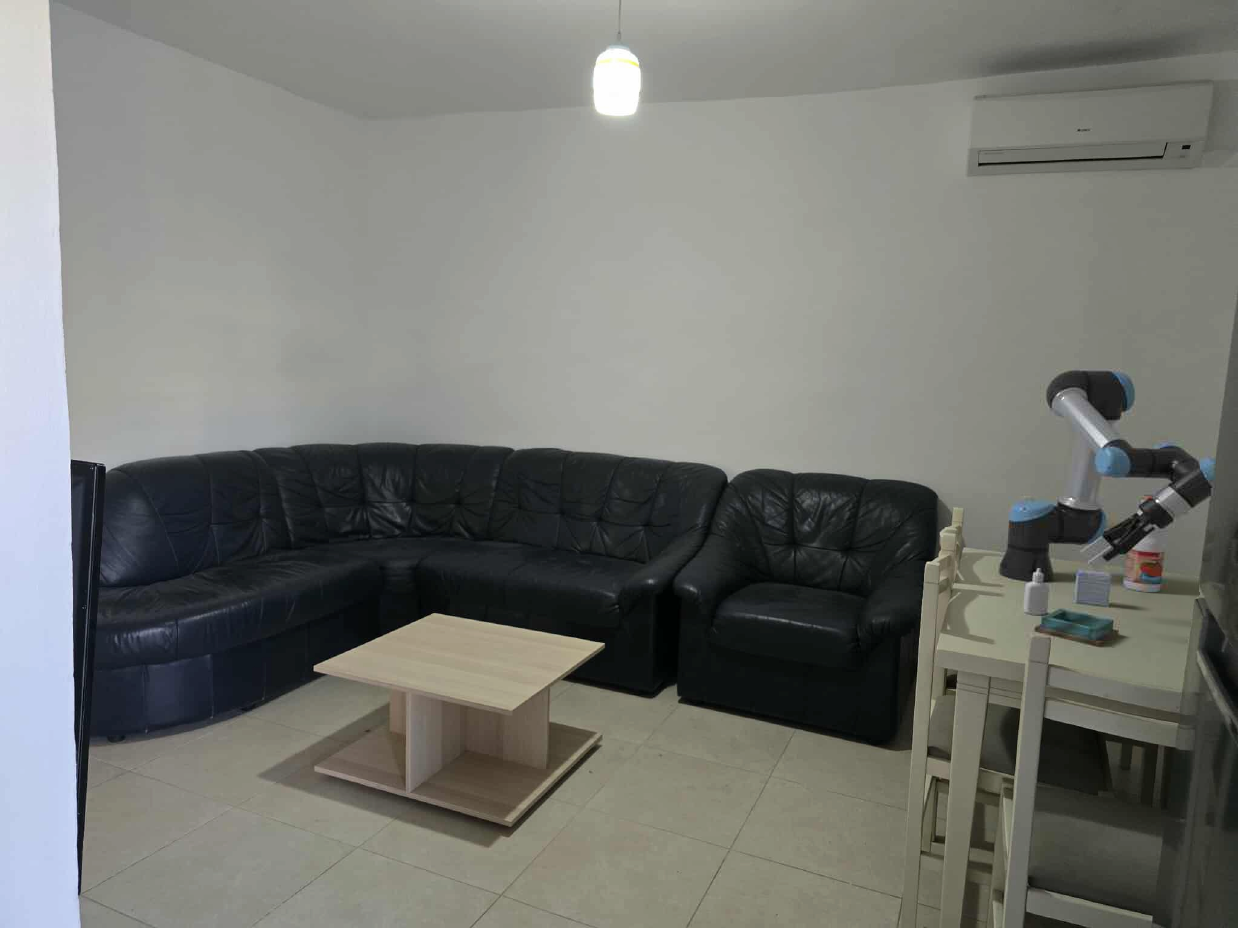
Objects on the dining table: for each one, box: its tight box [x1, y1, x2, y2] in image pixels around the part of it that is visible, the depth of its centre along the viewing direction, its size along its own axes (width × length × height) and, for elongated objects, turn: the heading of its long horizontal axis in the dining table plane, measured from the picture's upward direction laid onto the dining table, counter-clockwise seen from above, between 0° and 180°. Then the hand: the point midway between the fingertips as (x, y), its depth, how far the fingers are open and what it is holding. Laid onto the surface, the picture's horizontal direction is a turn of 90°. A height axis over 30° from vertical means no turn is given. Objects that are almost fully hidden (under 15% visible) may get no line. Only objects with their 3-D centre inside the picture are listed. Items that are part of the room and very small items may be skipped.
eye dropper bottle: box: [1022, 568, 1050, 616], centre depth 209 cm, size 4×6×12 cm
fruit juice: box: [1122, 494, 1167, 593], centre depth 236 cm, size 9×9×28 cm
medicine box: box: [1074, 569, 1112, 608], centre depth 220 cm, size 8×4×9 cm, turn 65°
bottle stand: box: [1034, 608, 1119, 648], centre depth 194 cm, size 14×14×4 cm
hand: (1087, 561), depth 203 cm, fingers open, 13 cm apart
